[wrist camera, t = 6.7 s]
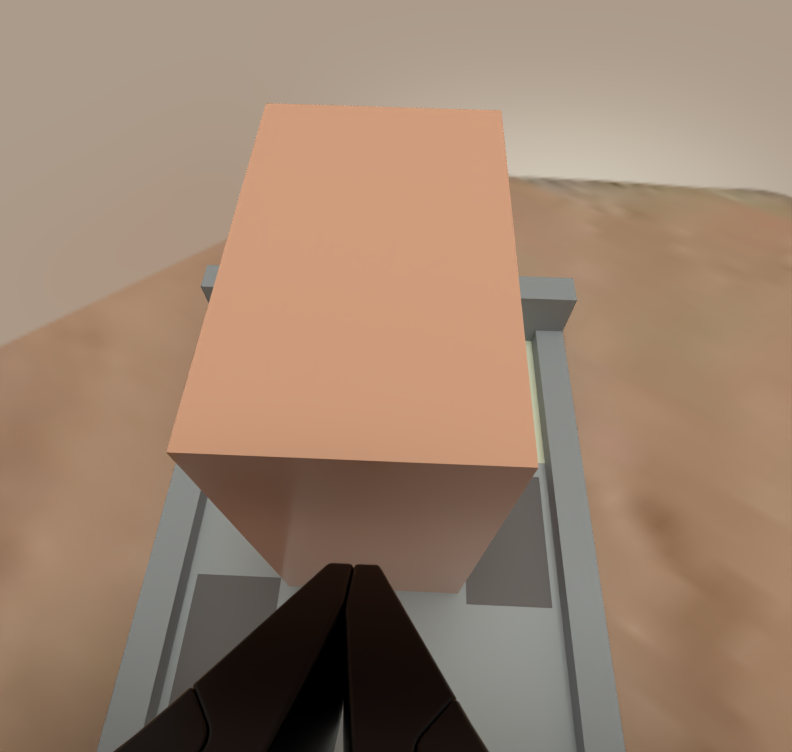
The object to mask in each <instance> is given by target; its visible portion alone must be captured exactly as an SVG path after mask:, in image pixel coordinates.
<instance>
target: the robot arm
mask: <svg viewBox="0 0 792 752" xmlns="http://www.w3.org/2000/svg"><path fill="white" fill-rule="evenodd" d="M342 710H343V752H489V751H488V749H487V747H486V746H485V744H484V743H483V741H482V740H481V738H480V736H479V735H478V733H477V732H476V730H475V728H474V727H473V725H472V724H471V722H470V720H469V719H468V717H467V715H466V713H465V712H464V710H463V708H462V706H461V705H460V703H459V702H458V701H457V700H456V697H455V695H454V693H453V691H452V690H451V688H450V686H449V685H448V683H447V681H446V679H445V678H444V676H443V674H442V672H441V671H440V669H439V667H438V666H437V664H436V662H435V660H434V659H433V657H432V655H431V654H430V652H429V650H428V648H427V647H426V645H425V643H424V641H423V640H422V638H421V636H420V635H419V633H418V631H417V629H416V628H415V626H414V624H413V623H412V621H411V619H410V617H409V616H408V614H407V612H406V610H405V609H404V607H403V605H402V604H401V602H400V600H399V598H398V597H397V595H396V593H395V592H394V590H393V588H392V586H391V585H390V583H389V581H388V579H387V578H386V576H385V574H384V573H383V571H382V569H381V568H380V566H378V565H371V564H357V565H355V567H353V565H351V564H347V563H329V564H327V565H326V566H325V567H324V568H323V569H321V570H320V571H319V572H318V573H317V574H316V575H315V576H314V577H312V578H311V579H310V580H309V581H308V582H307V583H306V584H305V585H304V586H302V587H301V588H300V589H299V590H298V591H297V592H296V593H295V594H293V595H292V596H291V597H290V598H289V599H288V600H287V601H286V602H285V603H283V604H282V605H281V606H280V607H279V608H278V609H277V610H276V611H274V612H273V613H272V614H271V615H270V616H269V617H268V618H267V619H265V620H264V621H263V622H262V623H261V624H260V625H259V626H258V627H257V628H255V629H254V630H253V631H252V632H251V633H250V634H249V635H248V636H246V637H245V638H244V639H243V640H242V641H241V642H240V643H239V644H238V645H236V646H235V647H234V648H233V649H232V650H231V651H230V652H229V653H227V654H226V655H225V656H224V657H223V658H222V659H221V660H220V661H219V662H217V663H216V664H215V665H214V666H213V667H212V668H211V669H210V670H208V671H207V672H206V673H205V674H204V675H203V676H202V677H201V678H200V679H198V680H197V681H196V682H195V683H194V684H193V687H192V688H188V689H187V690H186V691H185V692H184V693H182V694H181V695H180V696H179V697H178V698H177V699H176V700H175V701H174V702H172V703H171V704H170V705H169V706H168V707H167V708H166V709H164V710H163V711H162V712H161V713H160V714H158V715H157V716H156V717H155V718H154V719H153V720H151V721H150V722H149V723H148V724H147V725H146V726H144V727H143V728H142V729H141V730H140V731H138V732H137V733H136V734H135V735H134V736H132V737H131V738H130V739H128V740H127V741H126V742H125V743H123V744H122V745H121V746H119V747H118V748H117V749H116V750H114V751H113V752H334V749H335V745H336V740H337V736H338V732H339V727H340V722H341V717H342Z"/></svg>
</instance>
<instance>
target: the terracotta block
mask: <svg viewBox="0 0 792 752" xmlns="http://www.w3.org/2000/svg"><path fill="white" fill-rule="evenodd" d="M166 453H167V454H168V455H169V456H170V457H171V458H172V459H173V460H174V461H175V462H176V464H177V465H178V466H179V467H180V468H181V469H182V470H183V471H184V472H185V473H186V474H187V475H188V477H189V478H190V479H191V480H192V481H193V482H194V483H195V484H196V485H197V486H198V487H199V489H200V490H201V491H202V492H203V493H204V494H205V495H206V496H207V497H208V498H209V499H210V500H211V502H212V503H213V504H214V505H215V506H216V507H217V508H218V509H219V510H220V511H221V512H222V514H223V515H224V516H225V517H226V518H227V519H228V520H229V521H230V522H231V523H232V524H233V526H234V527H235V528H236V529H237V530H238V531H239V532H240V533H241V534H242V535H243V536H244V537H245V539H246V540H247V541H248V542H249V543H250V544H251V545H252V546H253V547H254V548H255V549H256V551H257V552H258V553H259V554H260V555H261V556H262V557H263V558H264V559H265V560H266V561H267V562H268V564H269V565H270V566H271V567H272V568H273V569H274V570H275V571H276V572H277V573H278V574H279V576H280V577H281V578H282V579H283V580H284V581H285V582H286V583H287V584H288V585H289V586H304V585H305V584H306V583H307V582H308V581H309V580H310V579H311V578H312V577H314V576H315V575H316V574H317V573H318V572H319V571H320V570H321V569H323V568H324V567H325V566H326V565H327V564H329V563H347V564H351V565H353V567H355V565H357V564H371V565H378V566H380V568H381V569H382V571H383V573H384V574H385V576H386V578H387V579H388V581H389V583H390V585H391V586H392V588H393V590H394V591H416V592H438V593H459V591H460V590H461V588H462V586H463V585H464V583H465V582H466V580H467V579H468V577H469V575H470V574H471V572H472V571H473V569H474V568H475V566H476V565H477V563H478V561H479V560H480V558H481V557H482V555H483V554H484V552H485V550H486V549H487V547H488V546H489V544H490V543H491V541H492V540H493V538H494V536H495V535H496V533H497V532H498V530H499V529H500V527H501V525H502V524H503V522H504V521H505V519H506V518H507V516H508V515H509V513H510V511H511V510H512V508H513V507H514V505H515V504H516V502H517V501H518V499H519V497H520V496H521V494H522V493H523V491H524V490H525V488H526V486H527V485H528V483H529V482H530V480H531V479H532V477H533V476H534V474H535V472H536V471H537V469H538V458H537V448H536V439H535V429H534V420H533V410H532V400H531V391H530V381H529V372H528V362H527V352H526V343H525V333H524V324H523V314H522V304H521V295H520V285H519V275H518V266H517V256H516V247H515V237H514V227H513V218H512V208H511V199H510V189H509V179H508V170H507V160H506V151H505V141H504V132H503V123H502V112H501V111H498V110H467V109H463V110H462V109H434V108H403V107H371V106H370V107H369V106H338V105H307V104H306V105H305V104H273V103H266V105H265V109H264V112H263V115H262V119H261V122H260V126H259V129H258V133H257V137H256V140H255V144H254V147H253V150H252V154H251V157H250V161H249V164H248V168H247V172H246V175H245V178H244V182H243V186H242V189H241V192H240V196H239V199H238V203H237V206H236V210H235V214H234V217H233V220H232V224H231V227H230V231H229V234H228V238H227V241H226V245H225V248H224V252H223V255H222V259H221V262H220V266H219V269H218V273H217V276H216V280H215V283H214V287H213V290H212V294H211V297H210V301H209V304H208V308H207V311H206V315H205V318H204V322H203V325H202V329H201V332H200V336H199V339H198V343H197V346H196V350H195V353H194V357H193V360H192V364H191V367H190V371H189V374H188V378H187V381H186V385H185V388H184V392H183V395H182V399H181V402H180V406H179V409H178V413H177V416H176V420H175V423H174V427H173V430H172V434H171V438H170V441H169V445H168V448H167V452H166Z"/></svg>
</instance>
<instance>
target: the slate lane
mask: <svg viewBox="0 0 792 752" xmlns="http://www.w3.org/2000/svg"><path fill="white" fill-rule="evenodd" d="M219 266H220V265H207V268H206V271H205V275H204V278H203V281H202V284H201V288H202V290H203V292H204V294H205V296H206V298H207V301H208V303H209V301H210V297H211V294H212V290H213V287H214V283H215V280H216V276H217V273H218V269H219ZM519 285H520V295H521V304H522V314H523V324H524V333H525V343H526V352H527V362H528V372H529V381H530V391H531V400H532V410H533V420H534V429H535V439H536V448H537V458H538V469H537V471H536V472H535V474H534V476H533V477H532V479H531V480H530V482H529V483H528V485H527V486H526V488H525V490H524V491H523V493H522V494H521V496H520V497H519V499H518V501H517V502H516V504H515V505H514V507H513V508H512V510H511V511H510V513H509V515H508V516H507V518H506V519H505V521H504V522H503V524H502V525H501V527H500V529H499V530H498V532H497V533H496V535H495V536H494V538H493V540H492V541H491V543H490V544H489V546H488V547H487V549H486V550H485V552H484V554H483V555H482V557H481V558H480V560H479V561H478V563H477V565H476V566H475V568H474V569H473V571H472V572H471V574H470V575H469V577H468V579H467V580H466V582H465V583H464V585H463V586H462V588H461V590H460V591H459V593H438V592H416V591H394V592H395V593H396V595H397V597H398V598H399V600H400V602H401V604H402V605H403V607H404V609H405V610H406V612H407V614H408V616H409V617H410V619H411V621H412V623H413V624H414V626H415V628H416V629H417V631H418V633H419V635H420V636H421V638H422V640H423V641H424V643H425V645H426V647H427V648H428V650H429V652H430V654H431V655H432V657H433V659H434V660H435V662H436V664H437V666H438V667H439V669H440V671H441V672H442V674H443V676H444V678H445V679H446V681H447V683H448V685H449V686H450V688H451V690H452V691H453V693H454V695H455V697H456V700H457V701H458V702H459V703H460V705H461V706H462V708H463V710H464V712H465V713H466V715H467V717H468V719H469V720H470V722H471V724H472V725H473V727H474V728H475V730H476V732H477V733H478V735H479V736H480V738H481V740H482V741H483V743H484V744H485V746H486V747H487V749H488V751H489V752H626V751H625V744H624V738H623V731H622V724H621V718H620V711H619V704H618V698H617V691H616V685H615V678H614V671H613V665H612V658H611V651H610V645H609V638H608V631H607V625H606V618H605V611H604V605H603V598H602V591H601V585H600V578H599V571H598V565H597V558H596V551H595V545H594V538H593V531H592V525H591V518H590V511H589V505H588V498H587V491H586V485H585V478H584V471H583V465H582V458H581V451H580V445H579V438H578V431H577V425H576V418H575V411H574V405H573V398H572V391H571V385H570V378H569V371H568V365H567V358H566V351H565V345H564V338H563V329H564V327H565V325H566V323H567V321H568V318H569V316H570V314H571V312H572V310H573V308H574V306H575V303H576V301H577V298H576V292H575V286H574V281H573V278H552V277H524V276H519ZM301 587H302V586H289V585H288V584H287V583H286V582H285V581H284V580H283V579H282V578H281V577H280V576H279V574H278V573H277V572H276V571H275V570H274V569H273V568H272V567H271V566H270V565H269V564H268V562H267V561H266V560H265V559H264V558H263V557H262V556H261V555H260V554H259V553H258V552H257V551H256V549H255V548H254V547H253V546H252V545H251V544H250V543H249V542H248V541H247V540H246V539H245V537H244V536H243V535H242V534H241V533H240V532H239V531H238V530H237V529H236V528H235V527H234V526H233V524H232V523H231V522H230V521H229V520H228V519H227V518H226V517H225V516H224V515H223V514H222V512H221V511H220V510H219V509H218V508H217V507H216V506H215V505H214V504H213V503H212V502H211V500H210V499H209V498H208V497H207V496H206V495H205V494H204V493H203V492H202V491H201V490H200V489H199V487H198V486H197V485H196V484H195V483H194V482H193V481H192V480H191V479H190V478H189V477H188V475H187V474H186V473H185V472H184V471H183V470H182V469H181V468H180V467H179V466H178V465H177V464H175V468H174V472H173V475H172V479H171V483H170V486H169V490H168V493H167V497H166V501H165V504H164V508H163V512H162V515H161V519H160V523H159V526H158V530H157V534H156V537H155V541H154V544H153V548H152V552H151V555H150V559H149V563H148V566H147V570H146V574H145V577H144V581H143V585H142V588H141V592H140V596H139V599H138V603H137V606H136V610H135V614H134V617H133V621H132V625H131V628H130V632H129V636H128V639H127V643H126V647H125V650H124V654H123V657H122V661H121V665H120V668H119V672H118V676H117V679H116V683H115V687H114V690H113V694H112V698H111V701H110V705H109V709H108V712H107V716H106V719H105V723H104V727H103V730H102V734H101V738H100V741H99V745H98V749H97V752H113V751H114V750H116V749H117V748H118V747H119V746H121V745H122V744H123V743H125V742H126V741H127V740H128V739H130V738H131V737H132V736H134V735H135V734H136V733H137V732H138V731H140V730H141V729H142V728H143V727H144V726H146V725H147V724H148V723H149V722H150V721H151V720H153V719H154V718H155V717H156V716H157V715H158V714H160V713H161V712H162V711H163V710H164V709H166V708H167V707H168V706H169V705H170V704H171V703H172V702H174V701H175V700H176V699H177V698H178V697H179V696H180V695H181V694H182V693H184V692H185V691H186V690H187V689H188V688H192V687H193V684H194V683H195V682H196V681H197V680H198V679H200V678H201V677H202V676H203V675H204V674H205V673H206V672H207V671H208V670H210V669H211V668H212V667H213V666H214V665H215V664H216V663H217V662H219V661H220V660H221V659H222V658H223V657H224V656H225V655H226V654H227V653H229V652H230V651H231V650H232V649H233V648H234V647H235V646H236V645H238V644H239V643H240V642H241V641H242V640H243V639H244V638H245V637H246V636H248V635H249V634H250V633H251V632H252V631H253V630H254V629H255V628H257V627H258V626H259V625H260V624H261V623H262V622H263V621H264V620H265V619H267V618H268V617H269V616H270V615H271V614H272V613H273V612H274V611H276V610H277V609H278V608H279V607H280V606H281V605H282V604H283V603H285V602H286V601H287V600H288V599H289V598H290V597H291V596H292V595H293V594H295V593H296V592H297V591H298V590H299V589H300V588H301ZM334 752H343V710H342V717H341V722H340V727H339V732H338V736H337V740H336V745H335V749H334Z"/></svg>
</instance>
